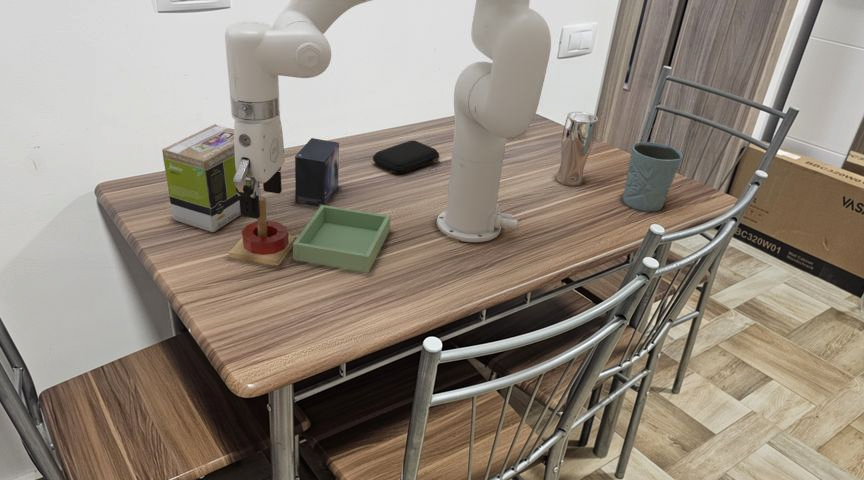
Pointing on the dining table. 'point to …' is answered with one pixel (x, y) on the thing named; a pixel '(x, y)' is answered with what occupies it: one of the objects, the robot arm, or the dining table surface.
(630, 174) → the grey-green embossed cup
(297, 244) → the bin
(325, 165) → the small box
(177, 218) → the tea box
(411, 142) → the carrying case
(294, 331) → the dining table surface
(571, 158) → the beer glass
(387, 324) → the dining table surface
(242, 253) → the peg stand
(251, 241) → the ring
